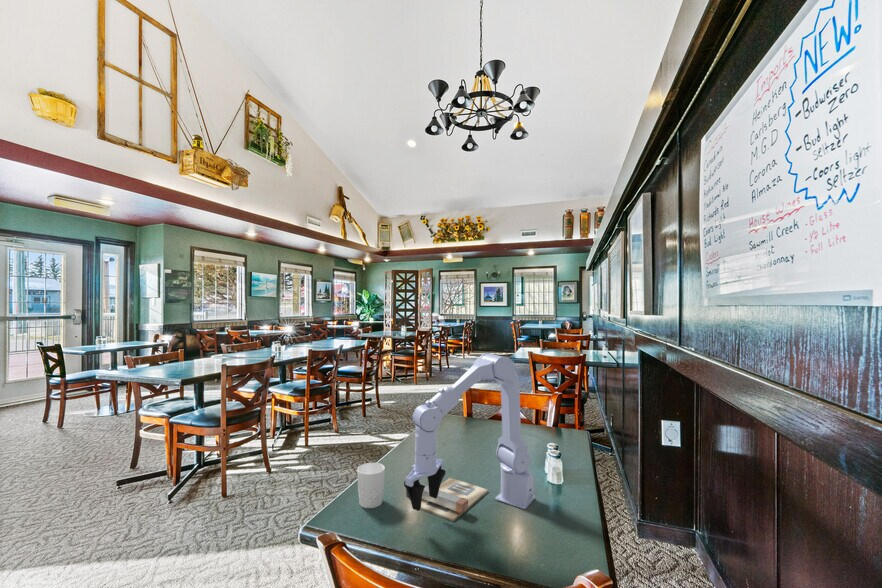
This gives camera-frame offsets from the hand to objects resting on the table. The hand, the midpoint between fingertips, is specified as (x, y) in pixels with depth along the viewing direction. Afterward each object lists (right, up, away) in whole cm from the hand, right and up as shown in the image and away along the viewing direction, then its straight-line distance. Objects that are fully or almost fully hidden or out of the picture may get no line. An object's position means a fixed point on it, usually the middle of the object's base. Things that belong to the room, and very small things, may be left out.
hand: (425, 502), depth 105 cm
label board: (+7, -5, +13) cm, 15 cm away
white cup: (-16, -5, +10) cm, 20 cm away
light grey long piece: (+2, -5, +9) cm, 11 cm away
